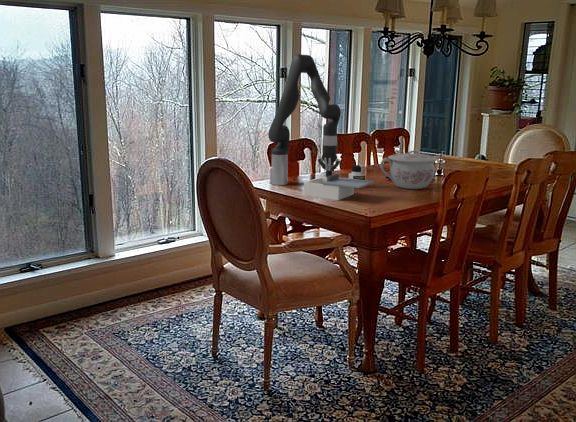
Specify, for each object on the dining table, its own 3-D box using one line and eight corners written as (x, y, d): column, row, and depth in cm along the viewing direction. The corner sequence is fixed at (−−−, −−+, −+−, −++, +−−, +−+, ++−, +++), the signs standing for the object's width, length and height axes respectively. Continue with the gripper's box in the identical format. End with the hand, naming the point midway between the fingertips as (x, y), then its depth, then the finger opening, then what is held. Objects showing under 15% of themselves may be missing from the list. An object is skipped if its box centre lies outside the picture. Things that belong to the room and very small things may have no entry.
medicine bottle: (352, 188, 309) (353, 166, 306) (348, 185, 316) (348, 164, 313) (364, 187, 311) (365, 166, 308) (359, 185, 318) (360, 164, 315)
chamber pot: (444, 187, 314) (447, 150, 309) (420, 194, 294) (423, 155, 289) (401, 180, 332) (403, 146, 327) (376, 187, 312) (377, 150, 307)
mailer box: (303, 195, 288) (303, 182, 286) (320, 189, 303) (320, 177, 301) (338, 200, 278) (338, 186, 276) (353, 194, 293) (354, 181, 291)
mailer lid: (321, 183, 281) (321, 177, 280) (338, 178, 296) (338, 172, 295) (359, 188, 270) (359, 181, 269) (374, 182, 285) (374, 176, 285)
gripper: (314, 144, 285) (314, 177, 289) (337, 145, 278) (336, 179, 282) (321, 142, 291) (321, 175, 295) (344, 144, 284) (343, 177, 288)
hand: (328, 177), depth 288 cm, fingers closed
